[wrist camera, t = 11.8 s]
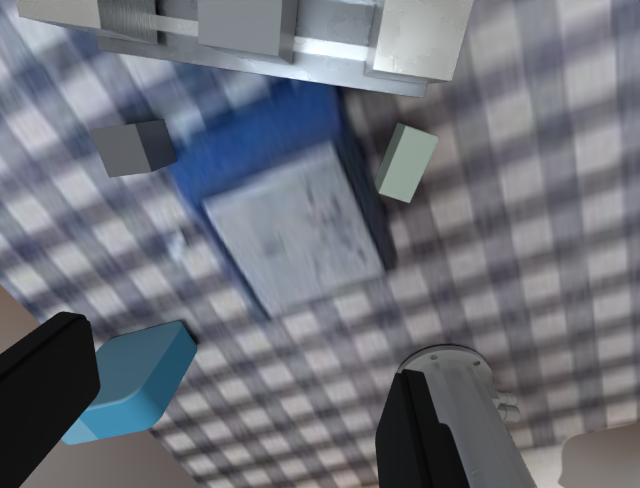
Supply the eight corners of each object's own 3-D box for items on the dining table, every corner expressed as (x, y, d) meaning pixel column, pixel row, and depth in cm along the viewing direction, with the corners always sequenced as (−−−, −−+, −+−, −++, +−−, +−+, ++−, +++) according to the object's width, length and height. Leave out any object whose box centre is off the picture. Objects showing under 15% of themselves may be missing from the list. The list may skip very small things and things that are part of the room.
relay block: (164, 119, 31) (134, 123, 26) (177, 161, 32) (151, 172, 28) (125, 124, 31) (89, 130, 27) (140, 165, 33) (109, 177, 28)
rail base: (450, -27, 25) (507, -88, 17) (419, 97, 29) (454, 99, 21) (92, -83, 25) (-33, -174, 16) (110, 51, 28) (15, 34, 20)
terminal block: (427, 132, 30) (439, 137, 27) (401, 191, 33) (409, 203, 29) (397, 122, 30) (406, 126, 26) (373, 182, 33) (378, 193, 29)
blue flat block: (126, 362, 45) (59, 448, 34) (107, 338, 43) (30, 420, 32) (202, 343, 43) (156, 429, 32) (185, 317, 41) (131, 398, 30)
